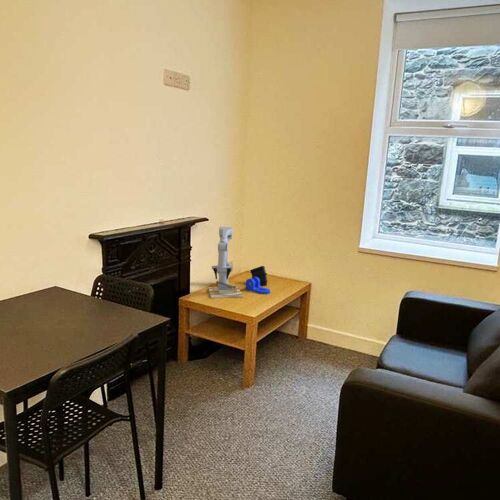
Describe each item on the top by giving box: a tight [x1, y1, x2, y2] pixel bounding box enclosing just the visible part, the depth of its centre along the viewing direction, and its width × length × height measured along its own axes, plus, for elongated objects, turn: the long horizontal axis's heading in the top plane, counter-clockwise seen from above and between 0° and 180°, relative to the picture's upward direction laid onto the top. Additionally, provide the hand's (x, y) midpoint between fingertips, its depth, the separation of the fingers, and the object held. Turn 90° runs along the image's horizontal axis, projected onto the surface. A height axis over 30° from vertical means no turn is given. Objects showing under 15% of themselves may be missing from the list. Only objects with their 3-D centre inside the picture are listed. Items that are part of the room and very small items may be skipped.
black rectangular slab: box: [249, 265, 269, 287], centre depth 337 cm, size 4×13×15 cm, turn 66°
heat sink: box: [217, 285, 233, 294], centre depth 314 cm, size 10×10×3 cm
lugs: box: [212, 285, 237, 293], centre depth 314 cm, size 6×17×4 cm, turn 101°
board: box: [208, 286, 244, 299], centre depth 314 cm, size 20×22×1 cm
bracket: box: [245, 277, 271, 295], centre depth 322 cm, size 18×8×9 cm, turn 54°
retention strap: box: [215, 280, 237, 288], centre depth 313 cm, size 4×15×2 cm, turn 100°
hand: (221, 279), depth 311 cm, fingers open, 7 cm apart
